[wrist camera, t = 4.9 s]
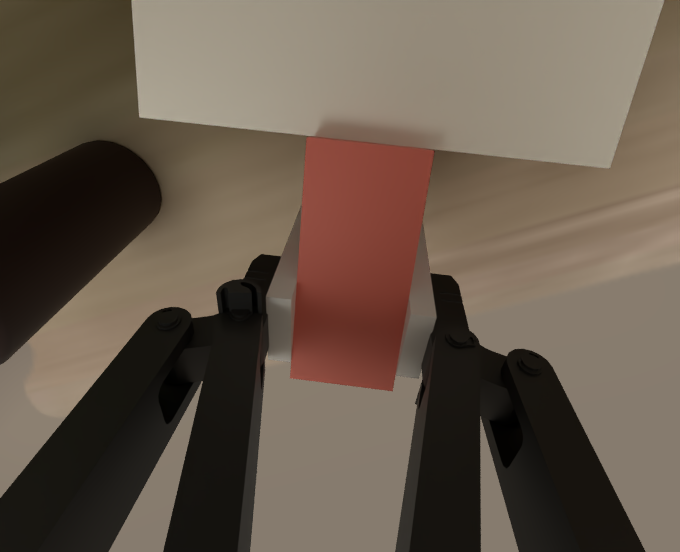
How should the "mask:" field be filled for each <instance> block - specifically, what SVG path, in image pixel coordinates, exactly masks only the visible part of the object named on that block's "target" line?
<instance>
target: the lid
mask: <svg viewBox="0 0 680 552" xmlns="http://www.w3.org/2000/svg"><path fill="white" fill-rule="evenodd" d="M663 3H664V0H132V15H133V30H134V45H135V60H136V75H137V90H138V105H139V117H141V118H150V119H159V120H168V121H178V122H187V123H196V124H205V125H214V126H223V127H233V128H242V129H251V130H260V131H269V132H278V133H288V134H297V135H306V136H312V137H307V139H306V154H305V169H304V183H303V198H302V212H301V227H300V242H299V256H298V271H297V286H296V300H295V315H294V329H293V344H292V358H291V373H290V378H293V379H301V380H309V381H317V382H324V383H332V384H340V385H348V386H356V387H364V388H371V389H379V390H387V391H393V386H394V380H395V375H396V369H397V363H398V357H399V352H400V346H401V340H402V334H403V329H404V323H405V317H406V312H407V306H408V300H409V295H410V289H411V283H412V277H413V272H414V266H415V260H416V255H417V249H418V243H419V237H420V232H421V226H422V220H423V215H424V209H425V203H426V197H427V192H428V186H429V180H430V175H431V169H432V163H433V157H434V152H435V151H433V150H430V149H434V150H444V151H453V152H462V153H471V154H480V155H489V156H499V157H508V158H517V159H526V160H535V161H545V162H554V163H563V164H572V165H581V166H590V167H600V168H609V169H610V166H611V163H612V160H613V157H614V154H615V151H616V148H617V145H618V142H619V139H620V135H621V132H622V129H623V126H624V123H625V120H626V117H627V114H628V111H629V108H630V105H631V102H632V98H633V95H634V92H635V89H636V86H637V83H638V80H639V77H640V74H641V71H642V68H643V65H644V61H645V58H646V55H647V52H648V49H649V46H650V43H651V40H652V37H653V34H654V31H655V28H656V24H657V21H658V18H659V15H660V12H661V9H662V6H663Z"/></svg>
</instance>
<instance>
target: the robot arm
mask: <svg viewBox="0 0 680 552" xmlns="http://www.w3.org/2000/svg"><path fill="white" fill-rule="evenodd" d="M301 212H302V205H301V207H300V210H299V213H298V215H297V218H296V220H295V223H294V225H293V228H292V231H291V233H290V236H289V238H288V241H287V243H286V246H285V249H284V251H283V254H282V256H272V255H264V254H261V255H260V256H258V257H257V258H256V259H254V260H253V261H252V263H251V265H250V267H249V269H248V271H247V273H246V275H245V278H244V279H239V280H232V281H229V282H226V283H224V284H223V285H222V286H220V287H219V288H218V290H217V292H216V295H217V303H218V311H219V314H216V315H213V316H208V317H199V318H191V314H190V313H189V312H188V311H187V310H185V309H182V308H179V307H169V308H164V309H161V310H158V311H156V312H154V313H153V314H152V315H150V316H149V317H148V318H147V319H146V320H145V322H144V323H143V324H142V325H141V327H140V328H139V329H138V330H137V331H136V333H135V334H134V335H133V336H132V338H131V339H130V340H129V341H128V342H127V344H126V345H125V346H124V347H123V349H122V350H121V351H120V352H119V353H118V355H117V356H116V357H115V358H114V360H113V361H112V362H111V363H110V365H109V366H108V367H107V368H106V369H105V371H104V372H103V373H102V374H101V376H100V377H99V378H98V379H97V380H96V382H95V383H94V384H93V385H92V387H91V388H90V389H89V390H88V391H87V393H86V394H85V395H84V396H83V398H82V399H81V400H80V401H79V402H78V404H77V405H76V406H75V407H74V409H73V410H72V411H71V412H70V413H69V415H68V416H67V417H66V418H65V420H64V421H63V422H62V423H61V425H60V426H59V427H58V428H57V429H56V431H55V432H54V433H53V434H52V436H51V437H50V438H49V439H48V441H47V442H46V443H45V444H44V445H43V447H42V448H41V449H40V450H39V451H38V453H37V454H36V455H35V456H34V458H33V459H32V460H31V461H30V463H29V464H28V465H27V466H26V468H25V469H24V470H23V471H22V472H21V474H20V475H19V476H18V477H17V478H16V480H15V481H14V482H13V483H12V485H11V486H10V487H9V488H8V489H7V491H6V492H5V493H4V494H3V496H2V497H1V498H0V552H108V551H109V550H110V548H111V546H112V544H113V542H114V540H115V539H116V537H117V535H118V533H119V531H120V530H121V528H122V526H123V524H124V522H125V520H126V519H127V517H128V515H129V513H130V511H131V509H132V508H133V506H134V504H135V502H136V500H137V499H138V497H139V495H140V493H141V491H142V489H143V488H144V486H145V484H146V482H147V480H148V478H149V477H150V475H151V473H152V471H153V469H154V468H155V466H156V464H157V462H158V460H159V458H160V456H161V454H162V453H163V451H164V449H165V447H166V446H167V444H168V442H169V440H170V438H171V437H172V434H173V433H174V431H175V429H176V427H177V426H178V424H179V422H180V420H181V418H182V416H183V415H184V413H185V411H186V409H187V407H188V406H189V404H190V402H191V400H192V398H193V396H194V394H195V393H196V391H197V389H198V387H199V385H200V384H201V381H203V383H202V388H201V393H200V396H199V401H198V405H197V409H196V414H195V418H194V422H193V427H192V431H191V435H190V439H189V444H188V448H187V452H186V456H185V461H184V465H183V469H182V474H181V478H180V482H179V487H178V491H177V495H176V499H175V504H174V508H173V512H172V516H171V521H170V525H169V529H168V534H167V538H166V542H165V546H164V551H163V552H250V545H251V533H252V521H253V509H254V496H255V485H256V473H257V460H258V447H259V436H260V425H261V413H262V400H263V387H264V376H265V357H266V354H267V351H268V359H269V360H277V361H284V362H291V358H292V344H293V329H294V315H295V300H296V286H297V271H298V256H299V242H300V227H301ZM421 369H422V377H423V380H422V383H421V386H420V389H419V393H418V396H417V399H416V403H415V404H417V409H416V416H415V423H414V429H413V436H412V443H411V450H410V456H409V464H408V470H407V477H406V483H405V490H404V497H403V503H402V510H401V517H400V524H399V530H398V537H397V544H396V551H395V552H481V532H480V531H481V526H480V524H481V518H480V515H481V514H480V416H481V419H482V423H483V426H484V430H485V433H486V437H487V440H488V444H489V447H490V451H491V454H492V457H493V461H494V465H495V468H496V472H497V475H498V479H499V483H500V486H501V490H502V493H503V497H504V500H505V503H506V507H507V511H508V514H509V518H510V521H511V525H512V528H513V532H514V536H515V539H516V542H517V546H518V550H519V552H645V550H644V548H643V546H642V544H641V542H640V540H639V538H638V536H637V534H636V532H635V530H634V528H633V526H632V524H631V522H630V520H629V518H628V516H627V514H626V512H625V511H624V508H623V506H622V504H621V502H620V500H619V498H618V496H617V494H616V492H615V490H614V488H613V486H612V485H611V483H610V480H609V478H608V476H607V475H606V472H605V471H604V469H603V467H602V465H601V463H600V461H599V459H598V457H597V455H596V453H595V451H594V449H593V447H592V445H591V443H590V441H589V439H588V437H587V435H586V433H585V431H584V429H583V427H582V425H581V423H580V421H579V419H578V417H577V415H576V413H575V411H574V409H573V407H572V405H571V403H570V401H569V399H568V397H567V395H566V393H565V391H564V389H563V387H562V385H561V383H560V381H559V379H558V377H557V375H556V373H555V372H554V369H553V367H552V366H551V365H550V363H549V362H548V361H547V360H546V359H545V358H543V357H542V356H541V355H539V354H537V353H535V352H533V351H530V350H525V349H515V350H513V351H511V352H509V354H508V356H504V355H501V354H498V353H496V352H493V351H490V350H488V349H486V348H484V347H483V346H481V345H480V344H479V340H478V338H477V337H476V336H475V335H474V334H473V333H472V332H471V331H469V327H468V323H467V319H466V315H465V310H464V306H463V304H462V297H461V293H460V289H459V285H458V284H457V282H456V281H455V280H454V279H453V278H452V276H449V275H440V274H432V273H430V268H429V261H428V255H427V248H426V241H425V234H424V227H423V220H422V226H421V232H420V237H419V243H418V249H417V255H416V260H415V266H414V272H413V277H412V283H411V289H410V295H409V300H408V306H407V312H406V317H405V323H404V329H403V334H402V340H401V346H400V352H399V357H398V363H397V369H396V376H403V377H411V378H419V376H420V372H421Z"/></svg>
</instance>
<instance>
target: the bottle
mask: <svg viewBox="0 0 680 552" xmlns="http://www.w3.org/2000/svg"><path fill="white" fill-rule="evenodd" d="M160 202H161V197H160V191H159V186H158V184H157V182H156V180H155V178H154V175H153V173H152V172H151V171H150V170H149V168H148V167H147V166H146V165H145V163H144V162H143V161H142V160H141V159H140V158H138V157H137V156H136V155H134V154H133V153H132V152H131V151H129V150H128V149H125V148H123V147H121V146H119V145H117V144H114V143H109V142H103V141H93V142H88V143H83V144H81V145H79V146H77V147H75V148H73V149H71V150H68V151H66V152H64V153H62V154H60V155H58V156H56V157H54V158H52V159H50V160H48V161H46V162H44V163H42V164H40V165H38V166H35V167H33V168H31V169H29V170H27V171H25V172H23V173H21V174H19V175H17V176H15V177H13V178H11V179H9V180H7V181H5V182H3V183H0V364H2V363H4V362H5V361H7V360H8V359H9V358H10V357H11V356H12V355H13V354H14V353H15V352H16V351H17V350H18V349H19V348H21V346H23V345H24V344H25V343H26V342H27V341H28V340H29V339H30V338H31V337H32V336H33V335H34V334H35V333H36V332H37V331H38V330H39V329H40V328H41V327H42V326H44V325H45V324H46V323H47V322H48V321H49V320H50V319H51V318H52V317H53V316H54V315H55V314H56V313H57V312H58V311H59V310H60V309H61V308H62V307H63V306H64V305H66V304H67V303H68V302H69V301H70V300H71V299H72V298H73V297H74V296H75V295H76V294H77V293H78V292H79V291H80V290H81V289H82V288H83V287H84V286H85V285H86V284H88V283H89V282H90V281H91V280H92V279H93V278H94V277H95V276H96V275H97V274H98V273H99V272H100V271H101V270H102V269H103V268H104V267H105V266H106V265H107V264H108V263H110V262H111V261H112V260H113V259H114V258H115V257H116V256H117V255H118V254H119V253H120V252H121V251H122V250H123V249H124V248H125V247H126V246H127V245H128V244H129V243H130V242H132V241H133V240H134V239H135V238H136V237H137V236H138V235H139V234H140V233H141V232H142V231H143V230H144V229H145V228H146V227H147V226H148V225H149V224H150V223H151V222H152V221H153V220H154V218H155V217H156V215H157V214H158V212H159V207H160Z"/></svg>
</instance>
